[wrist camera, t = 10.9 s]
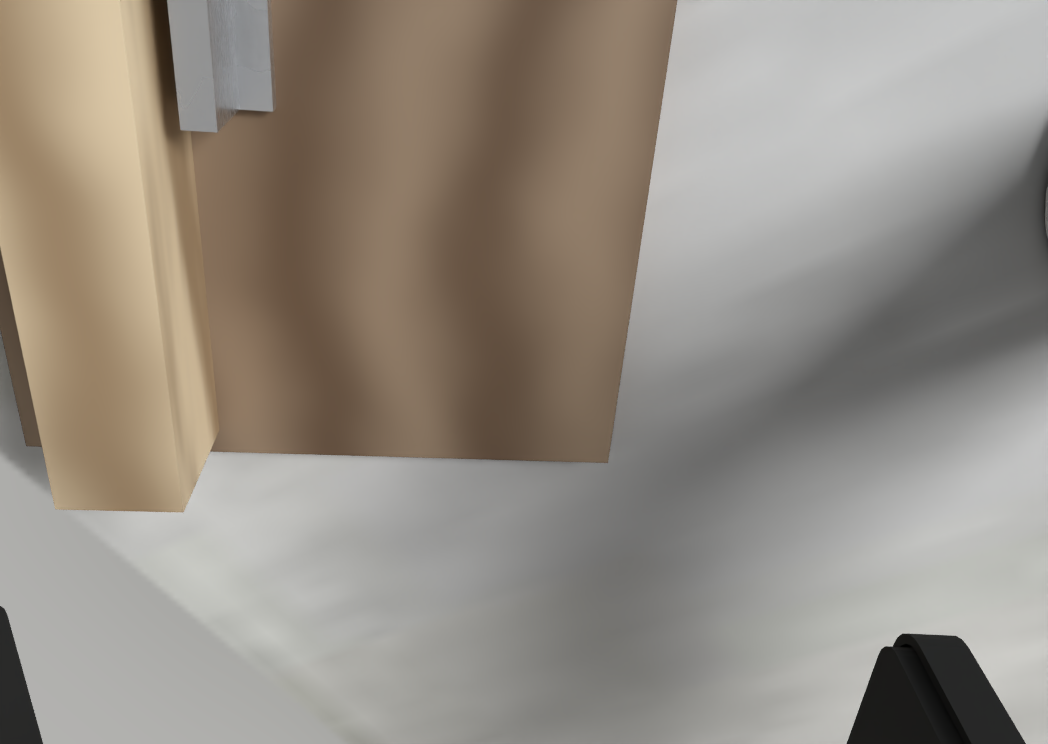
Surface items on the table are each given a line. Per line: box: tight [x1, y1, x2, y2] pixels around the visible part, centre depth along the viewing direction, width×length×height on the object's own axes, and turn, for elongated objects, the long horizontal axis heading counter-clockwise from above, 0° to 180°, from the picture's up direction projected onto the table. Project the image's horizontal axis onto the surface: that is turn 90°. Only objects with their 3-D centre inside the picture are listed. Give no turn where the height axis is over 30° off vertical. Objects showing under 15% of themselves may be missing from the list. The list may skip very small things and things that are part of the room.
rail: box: [0, 0, 219, 512], centre depth 27 cm, size 4×18×5 cm, turn 175°
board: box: [0, 0, 677, 463], centre depth 29 cm, size 22×23×2 cm
